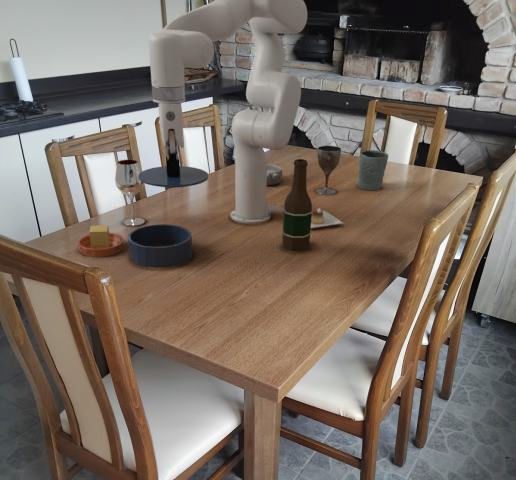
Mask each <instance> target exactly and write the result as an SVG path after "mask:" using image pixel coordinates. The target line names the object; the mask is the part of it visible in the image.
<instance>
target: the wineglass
mask: <svg viewBox="0 0 516 480" xmlns="http://www.w3.org/2000/svg"><path fill="white" fill-rule="evenodd" d="M115 168H116V169H115V177H114V181H115V186H116V188H117V189H118V190H119V191H120V192H121V193H122V194H124V195H125V196H126V197H127V198H128V199H129V200H130V202H129V203H130V210H131V217H129V218H126V219H125V220H123V224H124V225H125V226H130V227H136V226H141V225H144V224H145V223H146V221H145V219H143V218H141V217H136V214H135V207H134V205H135V204H134V198H135V197H136V195H138V194H139V193H140V191H142V189H143V188H144V185H145V183H143V182H141V181H140V180H139V179H138V175H139V173H141V172H142V170H141V167H140V164H139V162H138V160H136V159H121V160H118V161H117V163H116V167H115Z"/></svg>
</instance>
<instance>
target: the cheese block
mask: <svg viewBox="0 0 516 480" xmlns="http://www.w3.org/2000/svg"><path fill="white" fill-rule="evenodd" d="M109 233H110V228H109V225H108V224H106V225H104V224H103V225H90V227H89V231H88V235H89V234H90V241H91V247H92V249H104V248H109V247H110V246H111V242H110V235H109Z"/></svg>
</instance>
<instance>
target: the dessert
mask: <svg viewBox="0 0 516 480" xmlns="http://www.w3.org/2000/svg"><path fill="white" fill-rule="evenodd" d="M342 224H344V222H343V221H341V220H340V219H339V218H337V217H335V216H333V215H332V214H330V213H329V212H328V211H326V210H322V209H321V208H320V207H318V208H317V209H314V210H312V217H311V230H314V229H321V228H328V227H334V226H335V227H336V226H339V225H342Z"/></svg>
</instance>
